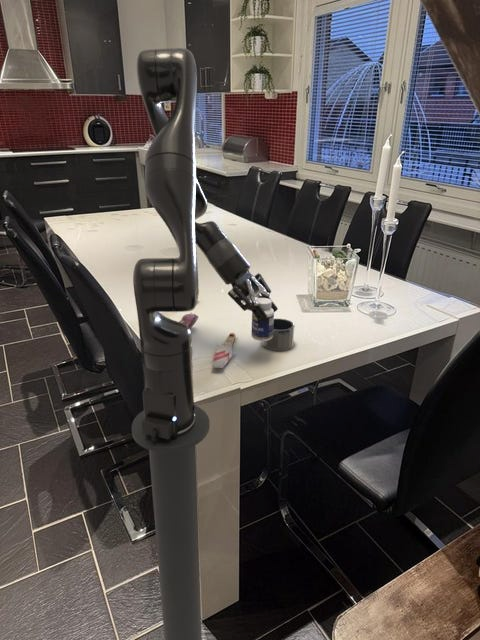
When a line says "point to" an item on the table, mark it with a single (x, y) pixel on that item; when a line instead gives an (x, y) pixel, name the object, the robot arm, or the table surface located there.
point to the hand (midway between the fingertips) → (269, 315)
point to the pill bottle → (264, 328)
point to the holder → (281, 336)
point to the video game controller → (189, 320)
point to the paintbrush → (223, 352)
